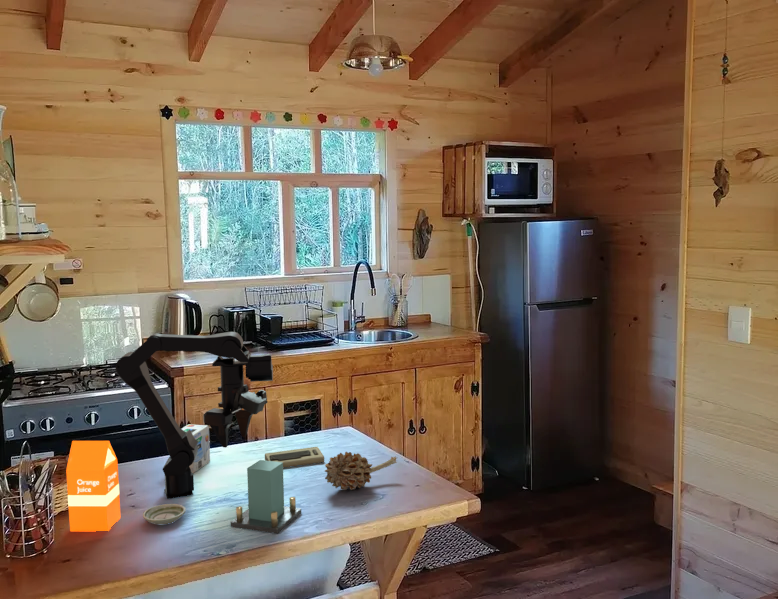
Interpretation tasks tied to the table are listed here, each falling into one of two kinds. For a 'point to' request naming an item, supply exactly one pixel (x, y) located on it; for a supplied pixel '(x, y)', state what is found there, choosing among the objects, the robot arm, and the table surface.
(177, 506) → the saucer
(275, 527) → the plate
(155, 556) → the table surface
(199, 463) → the light bulb box
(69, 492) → the orange juice
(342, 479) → the pine cone
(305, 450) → the computer
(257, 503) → the teal block
